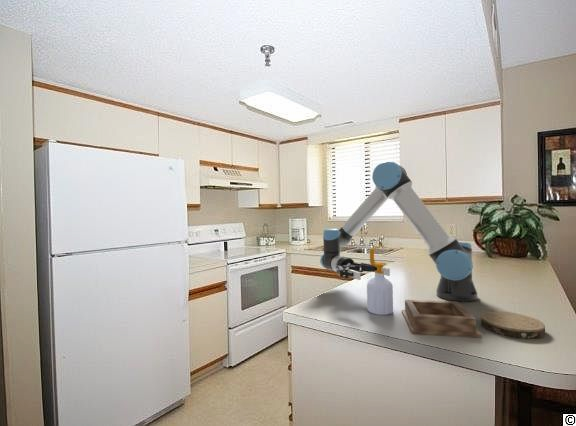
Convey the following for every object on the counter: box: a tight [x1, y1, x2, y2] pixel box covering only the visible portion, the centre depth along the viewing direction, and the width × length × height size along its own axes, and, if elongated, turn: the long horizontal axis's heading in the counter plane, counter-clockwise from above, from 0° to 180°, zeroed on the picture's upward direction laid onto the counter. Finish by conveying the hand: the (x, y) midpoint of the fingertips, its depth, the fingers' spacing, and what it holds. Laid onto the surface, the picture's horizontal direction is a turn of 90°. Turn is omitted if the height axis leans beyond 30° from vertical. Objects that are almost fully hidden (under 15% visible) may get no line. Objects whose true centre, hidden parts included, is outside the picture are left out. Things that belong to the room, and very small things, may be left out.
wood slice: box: [480, 310, 546, 341], centre depth 93 cm, size 16×16×3 cm
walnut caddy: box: [401, 299, 483, 339], centre depth 99 cm, size 19×19×5 cm
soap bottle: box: [366, 244, 394, 316], centre depth 112 cm, size 9×9×25 cm
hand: (374, 274), depth 113 cm, fingers open, 13 cm apart
